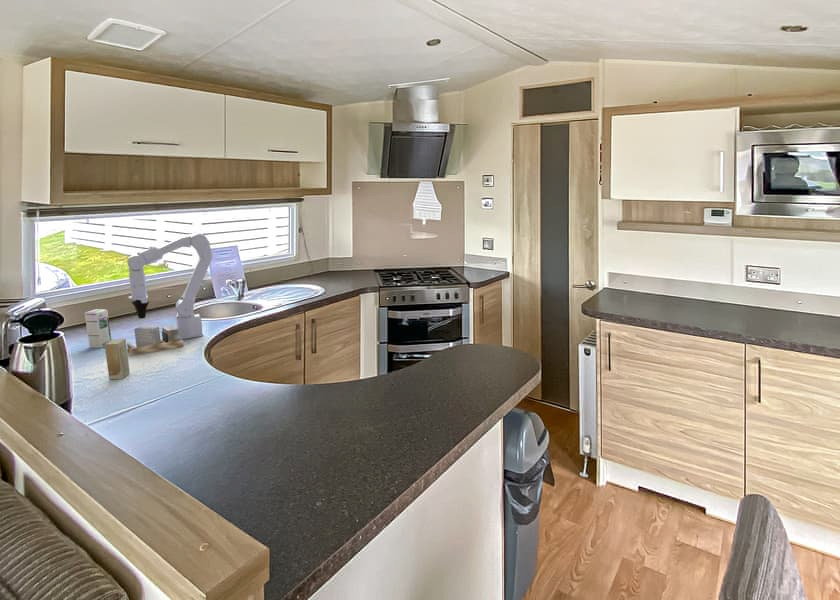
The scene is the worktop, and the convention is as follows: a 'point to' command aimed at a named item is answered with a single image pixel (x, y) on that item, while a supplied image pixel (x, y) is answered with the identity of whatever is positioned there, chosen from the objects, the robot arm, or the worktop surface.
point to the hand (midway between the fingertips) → (142, 318)
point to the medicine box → (147, 336)
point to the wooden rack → (167, 342)
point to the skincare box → (117, 358)
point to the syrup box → (98, 328)
